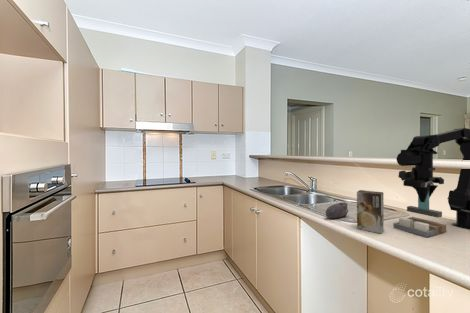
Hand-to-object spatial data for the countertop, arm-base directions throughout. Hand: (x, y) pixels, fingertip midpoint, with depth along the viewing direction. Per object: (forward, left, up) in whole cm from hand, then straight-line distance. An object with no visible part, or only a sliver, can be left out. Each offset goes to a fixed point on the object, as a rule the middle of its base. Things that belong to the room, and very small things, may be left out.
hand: (423, 201), depth 92 cm
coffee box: (+21, -9, -12) cm, 26 cm away
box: (+7, 0, -12) cm, 14 cm away
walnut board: (0, 0, -12) cm, 12 cm away
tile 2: (+6, +3, -9) cm, 12 cm away
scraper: (0, 0, -5) cm, 5 cm away
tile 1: (+6, -3, -9) cm, 11 cm away
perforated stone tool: (+20, -27, -12) cm, 36 cm away
